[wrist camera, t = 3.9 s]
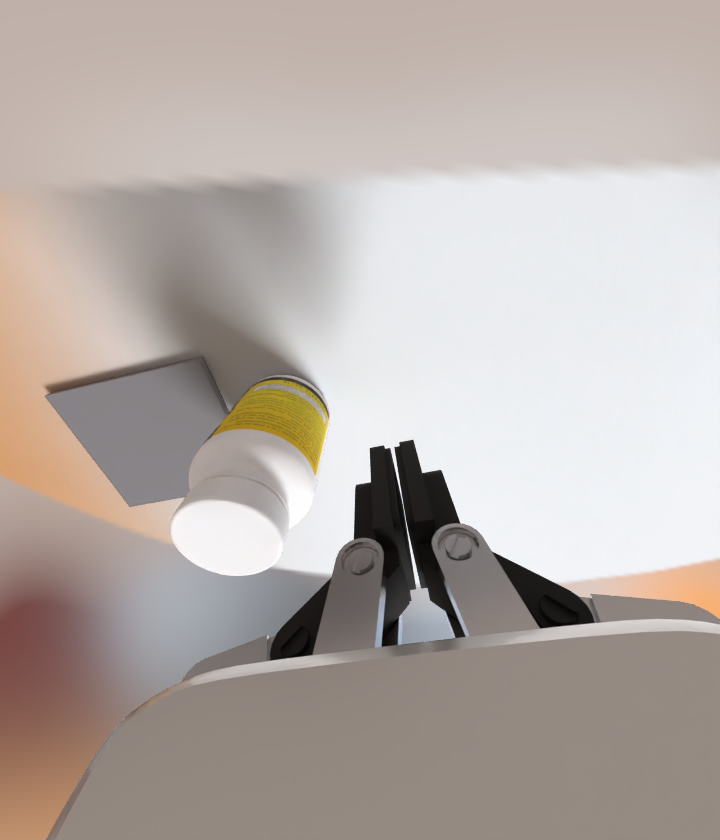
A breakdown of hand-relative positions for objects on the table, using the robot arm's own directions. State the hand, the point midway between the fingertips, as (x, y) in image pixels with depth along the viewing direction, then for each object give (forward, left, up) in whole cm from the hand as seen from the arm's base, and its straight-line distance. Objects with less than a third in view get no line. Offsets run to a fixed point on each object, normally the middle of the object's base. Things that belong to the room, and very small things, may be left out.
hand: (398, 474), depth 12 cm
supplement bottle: (+6, 0, -8) cm, 10 cm away
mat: (+15, 0, -8) cm, 17 cm away
